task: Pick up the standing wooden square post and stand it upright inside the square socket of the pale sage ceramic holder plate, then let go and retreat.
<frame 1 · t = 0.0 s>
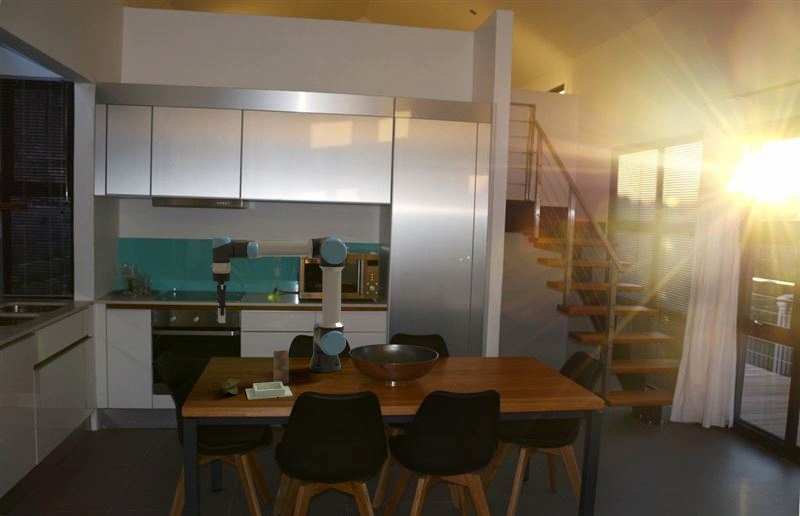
hand: (221, 320, 271), 28 cm above the table, fingers open, 13 cm apart
fruit: (229, 394, 257), on the table
holder plate: (268, 393, 258), on the table
wooden square post: (280, 382, 274), on the table
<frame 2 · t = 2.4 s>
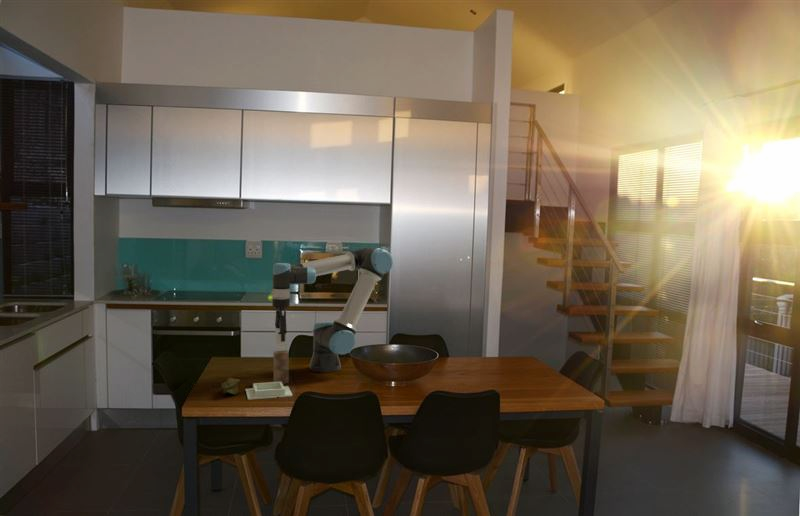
hand: (280, 345, 273), 17 cm above the table, fingers open, 13 cm apart
nothing on the table moved.
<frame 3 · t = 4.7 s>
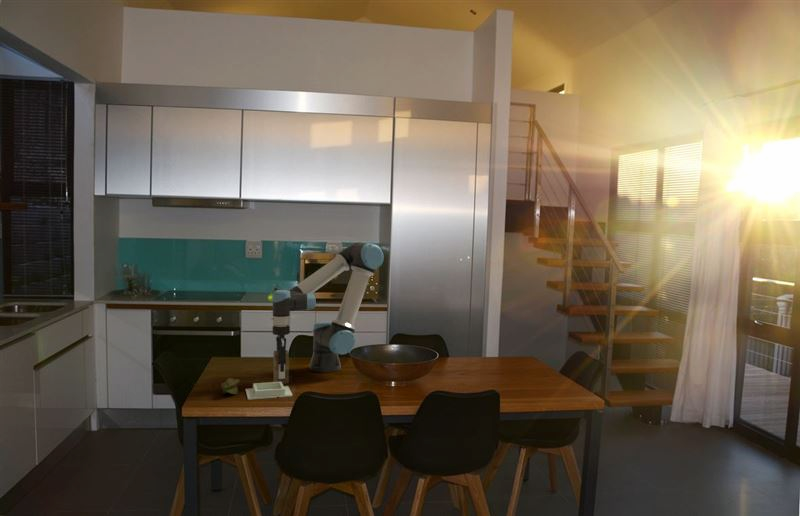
hand: (280, 376, 274), 3 cm above the table, fingers closed on wooden square post, 5 cm apart
wooden square post: (280, 382, 274), on the table, touching gripper
everything else where it was.
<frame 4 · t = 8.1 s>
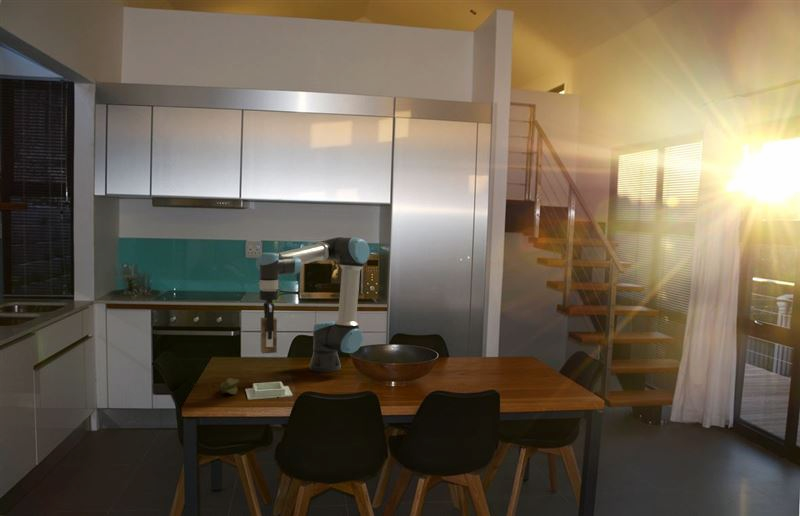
hand: (268, 345, 257), 20 cm above the table, fingers closed on wooden square post, 5 cm apart
wooden square post: (268, 351, 257), point 18 cm above the table, touching gripper
everything else where it was.
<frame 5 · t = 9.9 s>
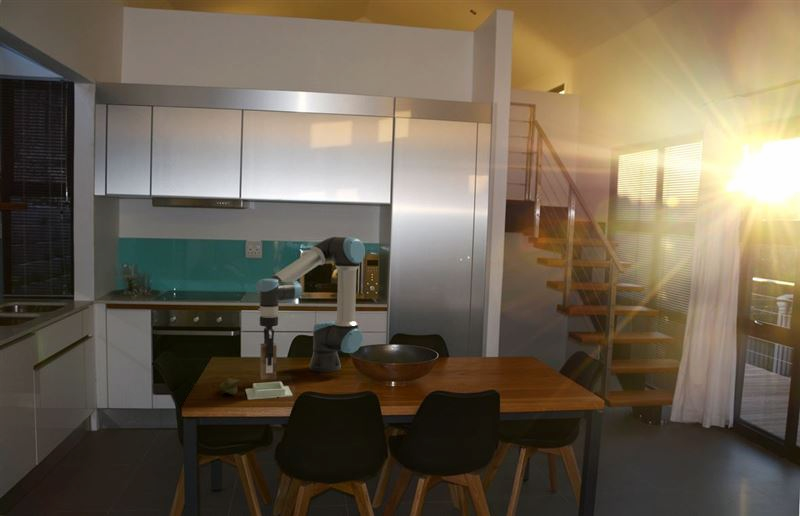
hand: (268, 371, 257), 10 cm above the table, fingers closed on wooden square post, 5 cm apart
wooden square post: (268, 377, 257), point 7 cm above the table, touching gripper
everything else where it was.
when the fingers open (5 cm above the table, at t = 11.5 s): wooden square post drops 2 cm, resting on holder plate.
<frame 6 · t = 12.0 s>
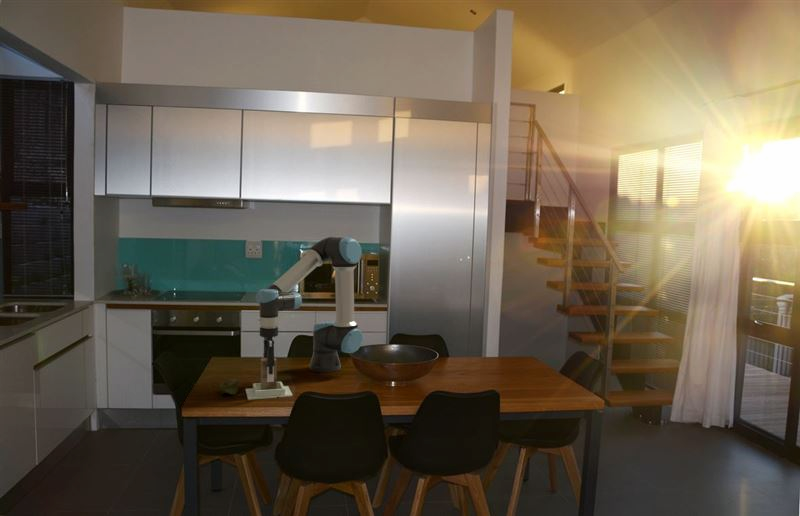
hand: (268, 377, 258), 7 cm above the table, fingers open, 12 cm apart
wooden square post: (268, 391, 258), point 1 cm above the table, touching holder plate
everything else where it was.
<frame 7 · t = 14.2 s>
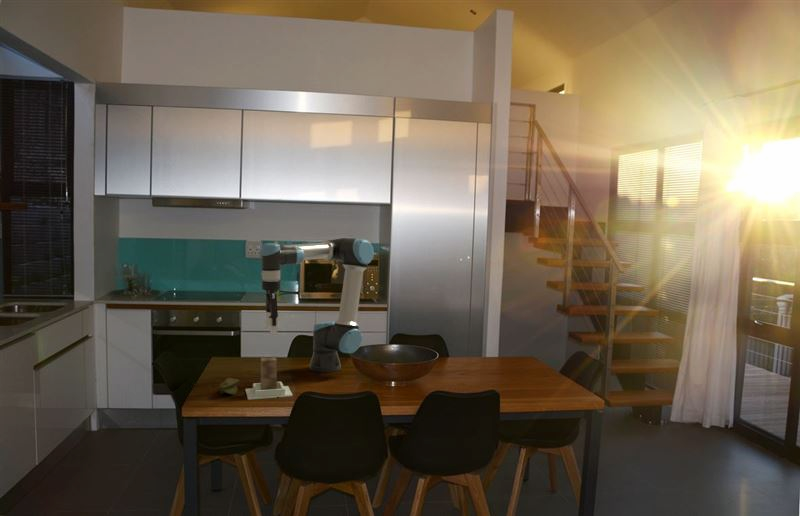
hand: (271, 330, 260), 26 cm above the table, fingers open, 13 cm apart
nothing on the table moved.
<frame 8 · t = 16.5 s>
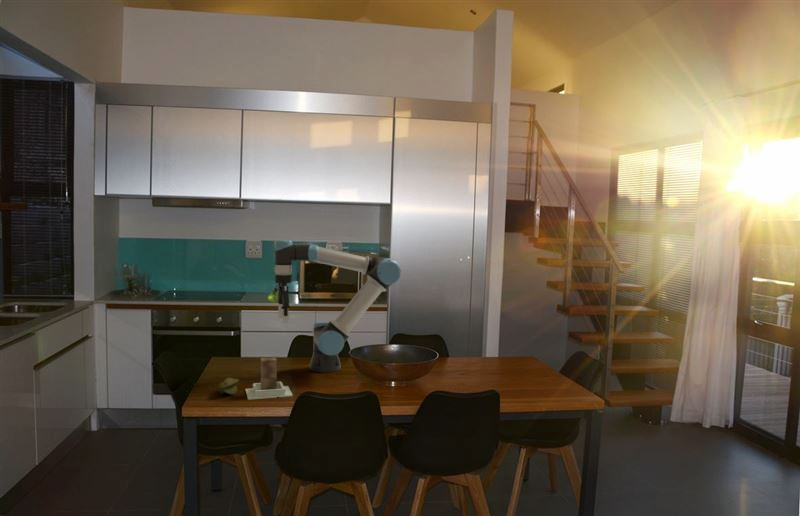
hand: (283, 320, 281), 27 cm above the table, fingers open, 13 cm apart
nothing on the table moved.
at the end: wooden square post 0.0 cm off-centre on the holder plate, point 0.6 cm above the holder plate's base; wooden square post tilted 0°; the gripper is holding nothing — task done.
